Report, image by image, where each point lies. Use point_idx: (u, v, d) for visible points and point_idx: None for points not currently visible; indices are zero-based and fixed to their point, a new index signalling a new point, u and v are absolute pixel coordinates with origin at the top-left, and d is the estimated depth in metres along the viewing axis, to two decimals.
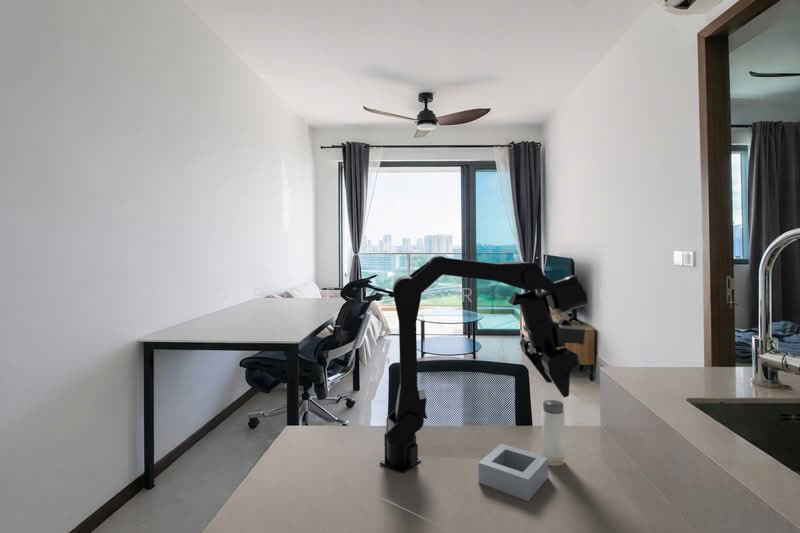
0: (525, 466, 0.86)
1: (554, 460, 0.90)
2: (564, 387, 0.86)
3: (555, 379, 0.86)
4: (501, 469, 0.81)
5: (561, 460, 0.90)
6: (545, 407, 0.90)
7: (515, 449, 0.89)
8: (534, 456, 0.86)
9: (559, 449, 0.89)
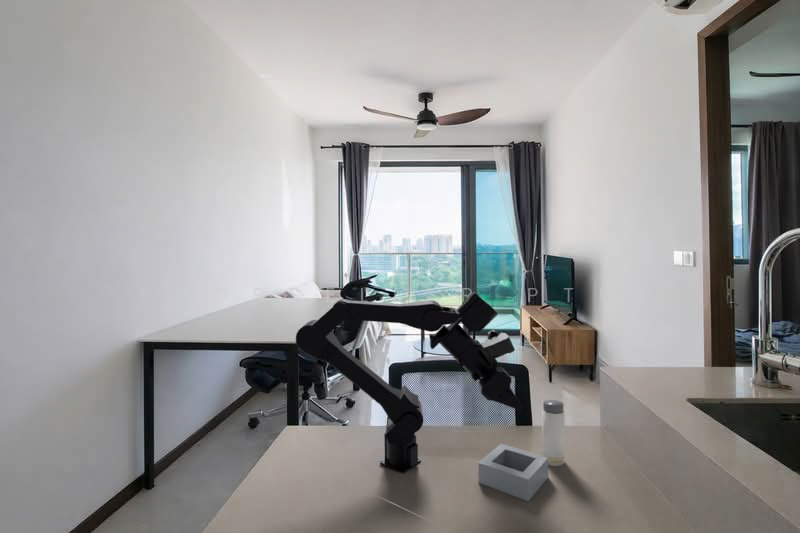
0: (525, 466, 0.86)
1: (554, 459, 0.90)
2: (513, 402, 0.86)
3: (500, 400, 0.85)
4: (501, 469, 0.81)
5: (561, 460, 0.90)
6: (545, 407, 0.90)
7: (515, 449, 0.89)
8: (534, 456, 0.86)
9: (559, 449, 0.89)
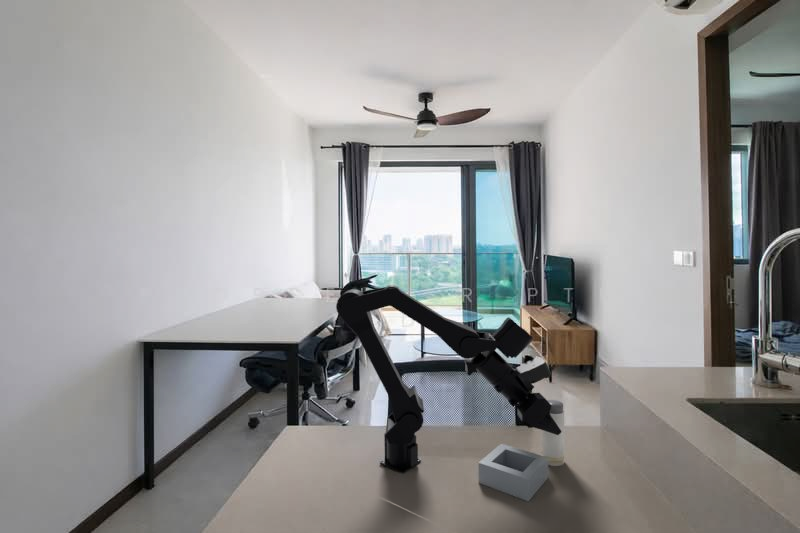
0: (525, 466, 0.86)
1: (554, 460, 0.90)
2: (552, 427, 0.86)
3: (539, 426, 0.85)
4: (501, 469, 0.81)
5: (561, 460, 0.90)
6: None
7: (515, 449, 0.89)
8: (534, 456, 0.86)
9: (559, 449, 0.89)
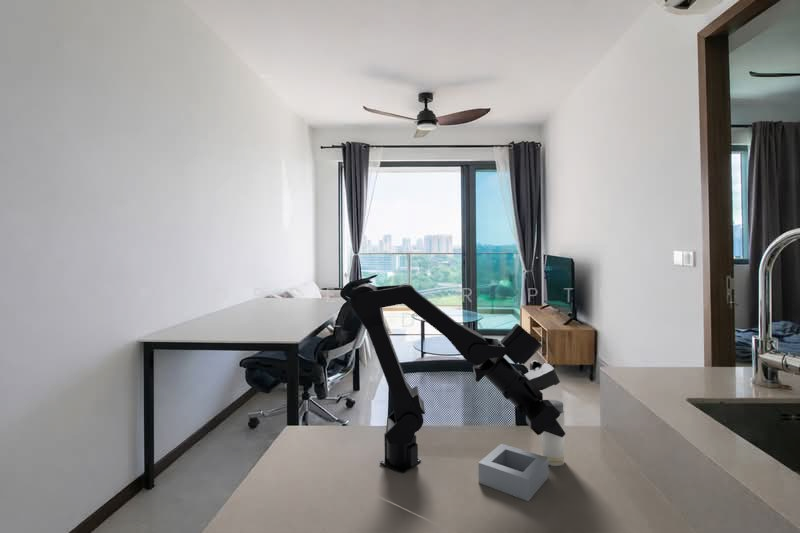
0: (525, 466, 0.86)
1: (554, 459, 0.90)
2: (557, 429, 0.88)
3: None
4: (501, 469, 0.81)
5: (561, 460, 0.90)
6: None
7: (515, 449, 0.89)
8: (534, 456, 0.86)
9: (559, 449, 0.89)
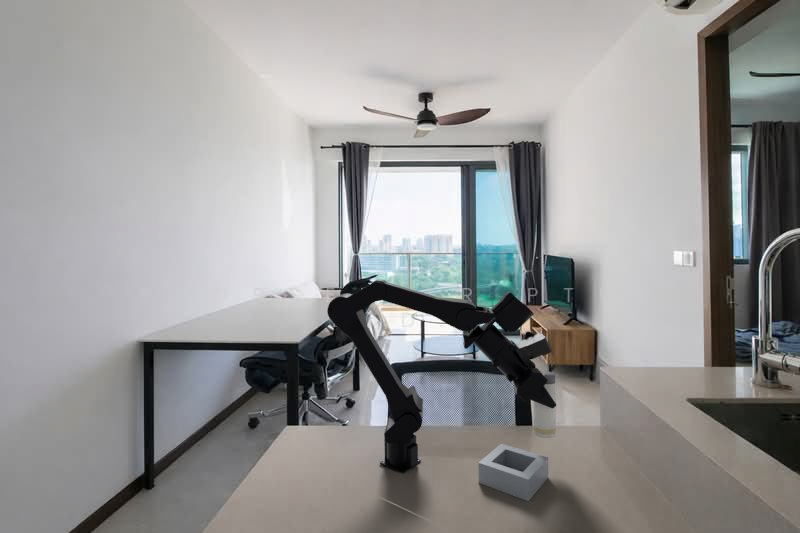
0: (525, 466, 0.86)
1: (544, 431, 0.87)
2: (547, 400, 0.85)
3: (533, 398, 0.85)
4: (501, 469, 0.81)
5: (552, 432, 0.87)
6: None
7: (515, 449, 0.89)
8: (534, 456, 0.86)
9: (550, 421, 0.87)
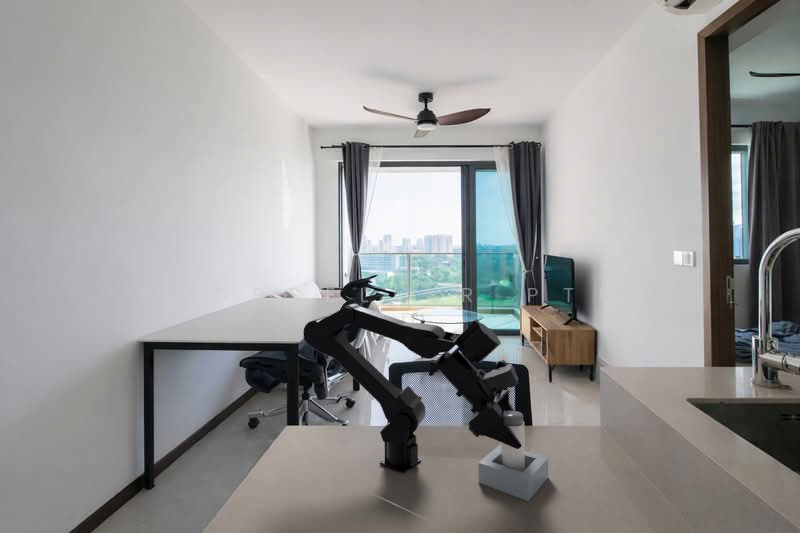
0: (525, 466, 0.86)
1: None
2: (510, 440, 0.80)
3: (494, 436, 0.80)
4: (501, 469, 0.81)
5: None
6: None
7: None
8: (534, 456, 0.86)
9: (516, 465, 0.82)
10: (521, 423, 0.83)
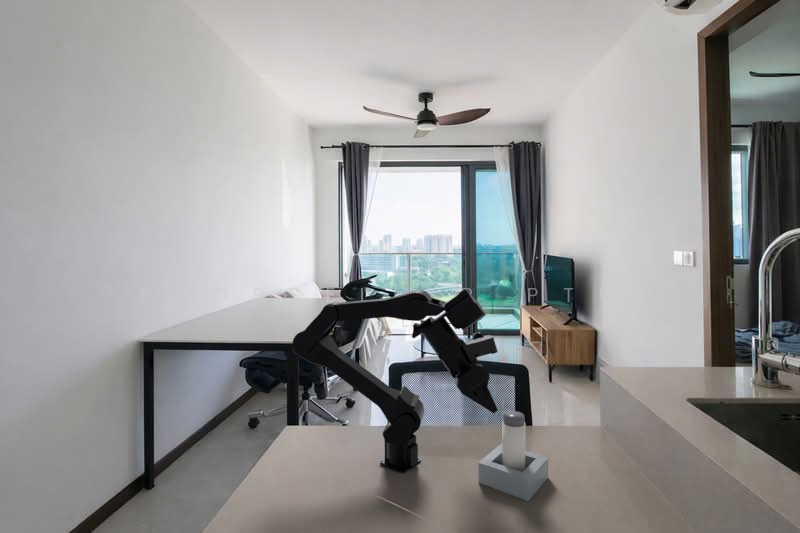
0: (525, 466, 0.86)
1: None
2: (489, 403, 0.83)
3: (475, 398, 0.82)
4: (501, 469, 0.81)
5: None
6: (503, 418, 0.84)
7: None
8: (534, 456, 0.86)
9: (516, 465, 0.82)
10: (523, 424, 0.82)
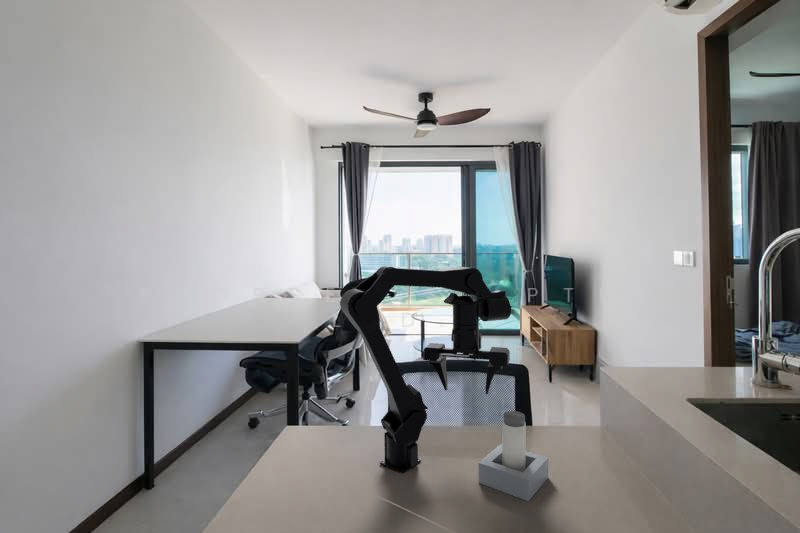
0: (525, 466, 0.86)
1: None
2: None
3: (493, 375, 0.94)
4: (501, 469, 0.81)
5: None
6: (504, 418, 0.84)
7: None
8: (534, 456, 0.86)
9: (516, 465, 0.82)
10: (523, 424, 0.82)
